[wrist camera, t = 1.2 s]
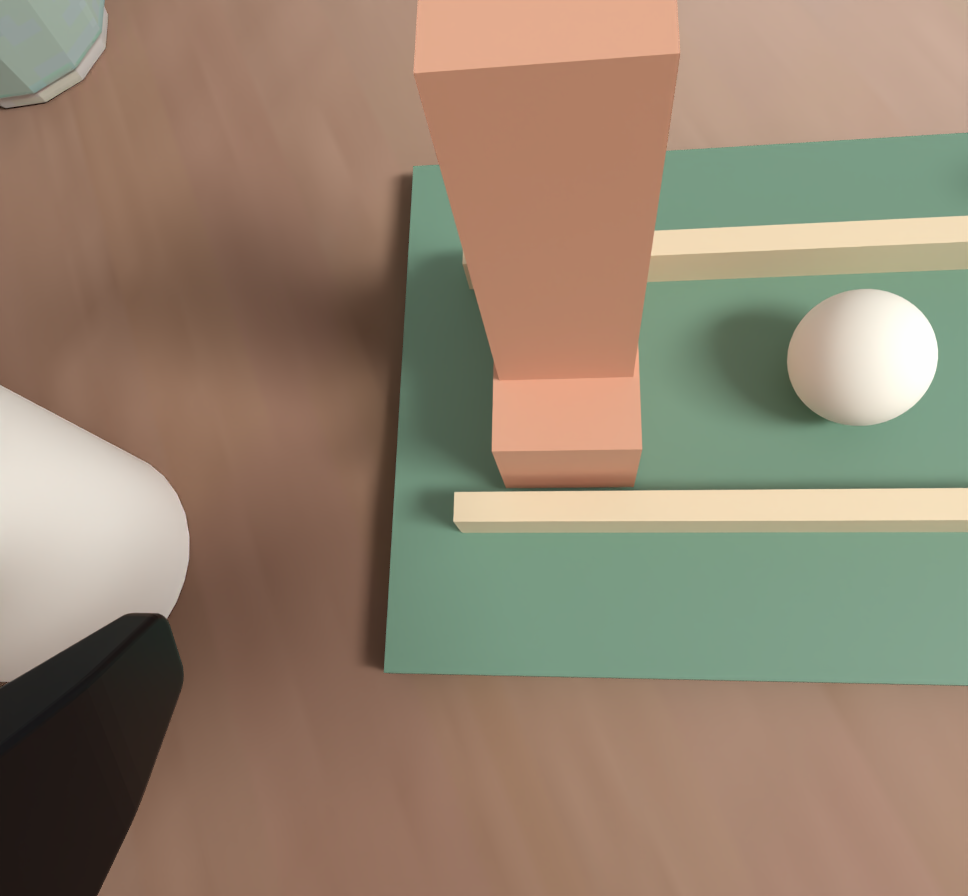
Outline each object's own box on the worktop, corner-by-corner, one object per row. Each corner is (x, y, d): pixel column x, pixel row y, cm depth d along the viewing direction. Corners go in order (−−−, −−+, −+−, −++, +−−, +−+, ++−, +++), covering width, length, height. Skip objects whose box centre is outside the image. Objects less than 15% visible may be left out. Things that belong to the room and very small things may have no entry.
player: (633, 487, 22) (702, 184, 9) (506, 488, 22) (393, 200, 9) (626, 290, 23) (675, -203, 10) (508, 294, 24) (417, -172, 11)
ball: (840, 468, 21) (887, 426, 18) (747, 378, 22) (774, 323, 19) (934, 388, 22) (997, 333, 18) (837, 303, 23) (880, 236, 19)
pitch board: (1662, 700, 18) (1809, 701, 16) (391, 673, 22) (368, 670, 20) (1432, 122, 23) (1521, 62, 21) (418, 181, 27) (403, 135, 24)
